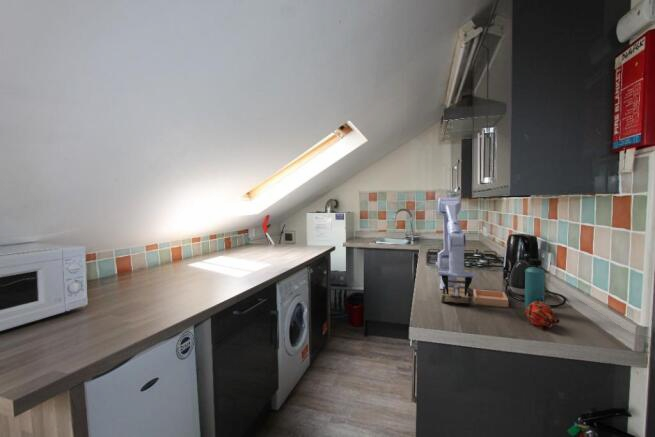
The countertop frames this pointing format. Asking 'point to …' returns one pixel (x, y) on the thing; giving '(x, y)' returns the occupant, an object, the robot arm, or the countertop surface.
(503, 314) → the countertop surface
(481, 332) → the countertop surface
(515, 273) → the pump dispenser
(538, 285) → the teal bottle
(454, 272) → the robot arm
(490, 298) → the tray
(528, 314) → the dragon fruit
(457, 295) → the pin
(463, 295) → the trolley
